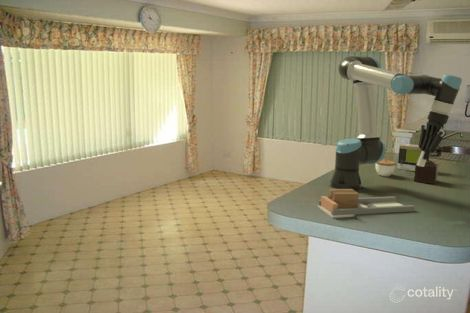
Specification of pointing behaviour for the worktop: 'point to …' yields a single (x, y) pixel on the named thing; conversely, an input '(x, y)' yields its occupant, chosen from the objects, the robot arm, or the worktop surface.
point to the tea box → (408, 156)
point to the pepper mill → (428, 170)
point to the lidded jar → (385, 167)
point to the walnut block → (344, 198)
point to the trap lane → (364, 206)
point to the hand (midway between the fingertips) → (420, 165)
